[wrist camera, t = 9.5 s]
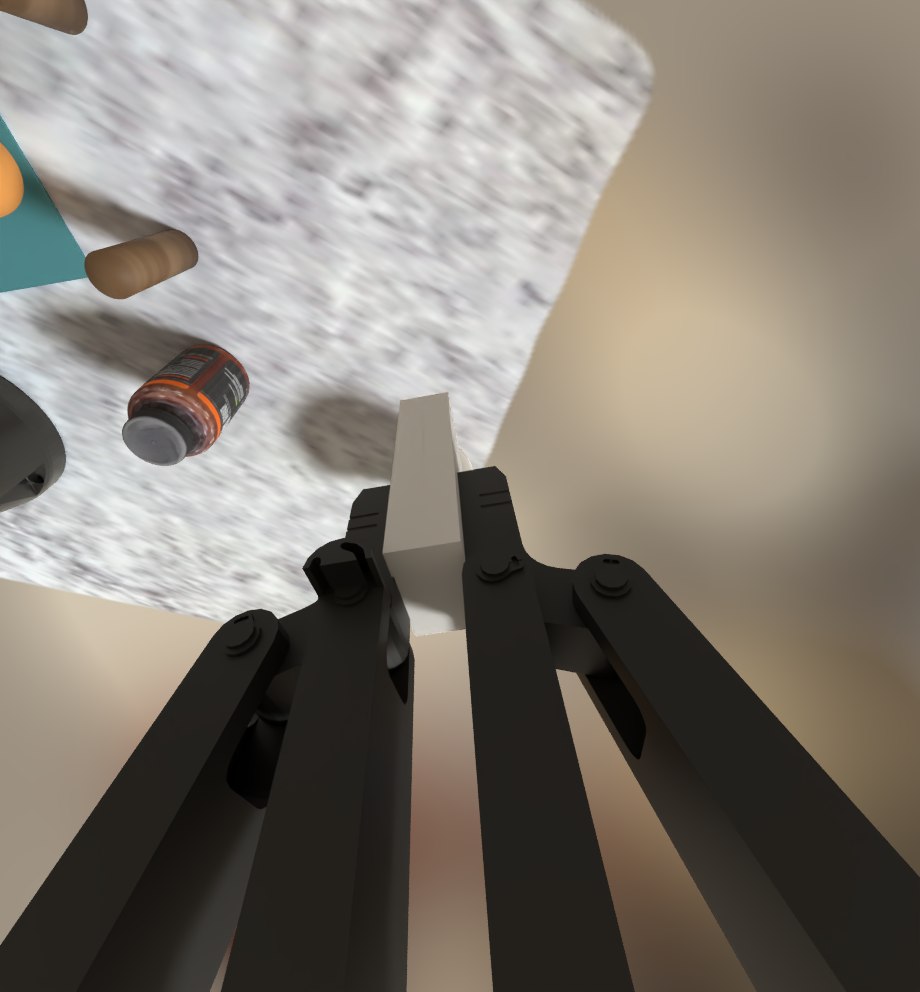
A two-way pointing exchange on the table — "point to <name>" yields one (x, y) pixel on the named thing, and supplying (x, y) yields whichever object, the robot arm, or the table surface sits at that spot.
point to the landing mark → (35, 234)
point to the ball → (9, 183)
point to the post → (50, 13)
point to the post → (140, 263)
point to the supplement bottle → (185, 405)
